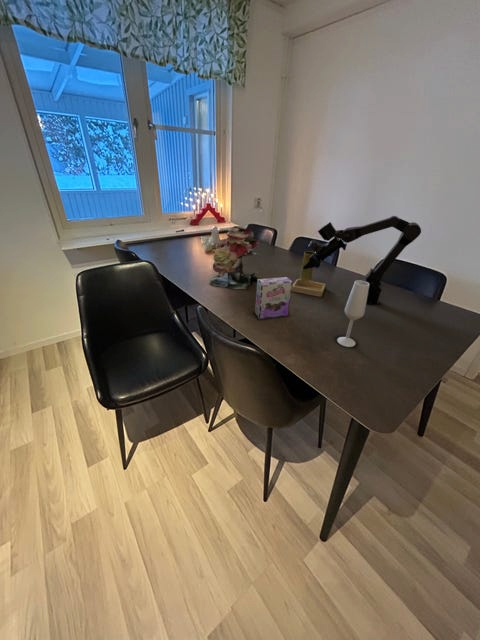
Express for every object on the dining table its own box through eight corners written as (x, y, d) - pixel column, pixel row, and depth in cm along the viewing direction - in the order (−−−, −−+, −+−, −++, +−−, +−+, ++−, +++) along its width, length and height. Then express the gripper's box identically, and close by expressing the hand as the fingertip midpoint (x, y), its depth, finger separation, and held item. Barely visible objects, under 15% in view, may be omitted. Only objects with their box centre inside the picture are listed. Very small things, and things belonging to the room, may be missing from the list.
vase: (311, 282, 140) (315, 254, 133) (299, 280, 142) (303, 253, 134) (311, 277, 146) (315, 251, 139) (299, 276, 147) (303, 250, 140)
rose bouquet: (224, 269, 169) (223, 219, 154) (266, 279, 156) (270, 225, 141) (198, 282, 150) (195, 226, 135) (243, 295, 137) (246, 234, 122)
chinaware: (198, 244, 223) (195, 224, 215) (218, 241, 227) (215, 221, 218) (205, 254, 200) (201, 231, 192) (227, 251, 204) (224, 228, 195)
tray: (324, 288, 148) (325, 283, 146) (321, 296, 138) (322, 291, 137) (296, 283, 153) (297, 278, 151) (291, 291, 144) (291, 286, 142)
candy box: (258, 319, 117) (261, 283, 108) (254, 313, 121) (256, 278, 113) (288, 316, 120) (293, 281, 112) (283, 310, 125) (287, 276, 117)
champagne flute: (351, 336, 107) (367, 279, 95) (358, 346, 101) (376, 287, 89) (334, 336, 106) (348, 279, 94) (340, 346, 101) (356, 286, 89)
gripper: (323, 231, 138) (299, 250, 147) (316, 238, 123) (290, 259, 133) (336, 248, 139) (311, 266, 149) (331, 258, 124) (304, 277, 134)
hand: (304, 266), depth 141 cm, fingers closed on vase, 5 cm apart
